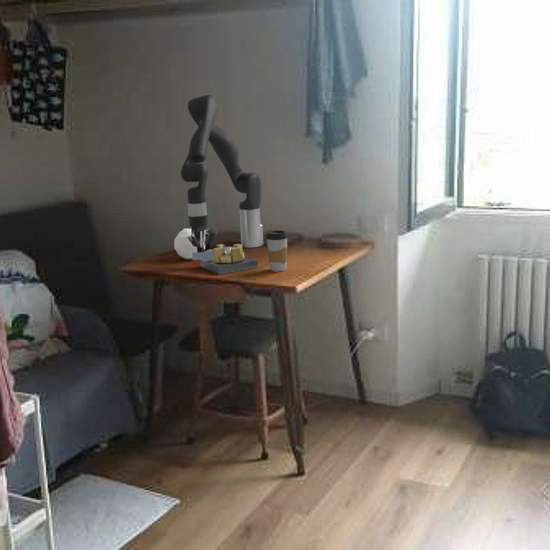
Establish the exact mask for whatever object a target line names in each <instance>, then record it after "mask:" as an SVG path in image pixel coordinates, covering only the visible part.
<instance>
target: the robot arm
mask: <svg viewBox="0 0 550 550" xmlns="http://www.w3.org/2000/svg"><path fill="white" fill-rule="evenodd" d="M218 107H219V106H218V102H217V100H216V98H215V97H214V96H213V95H212V94H206V95H200V96H198V97H194V98H191V99H190V100H189V101H188V102H187V110H188V113H189V114H190V116H191V117H190V118H192V120H193V121H194V122H195V124H196V125H197V126H198V127H197V129H196V131H195V132H194V133H193V134H192V137H191V139H190V143H189V149H188V154H187V156H186V158H185V160H184V162H183V165H182V166H181V169H180V176H181V179H182V180H183V181H184V182H186V183H197V182H198V184H197V186H194V187H190V188H188V189H187V191H186V193H187V195H186V196H187V204H188V205H187V215H188V225H189V227H190V228H191V229H192V230H191V233H192V234H191V236H188V239H189V241H190V242H191V244H192V245H193V246H194V247H197V252H205V249H204V246H205V247H206V245H207V244H208V242H209V239H210V235H211V230H208V229H207V228H208V227H207V226H209V225H208V224H209V220H208V207H207V201H206V187H207V181H208V177H209V170H208V167H207V165H206V164H205V163H203V162H205V161H206V157H207V153H208V151H207V150H208V144H210V146H211V147H212V149H213V151H214V152H215V154H216V155H217V157H218V158H219V160H220V161H221V163H222V165H223V167H224V169H225V171H226V172H227V174H228V176H229V178H230V181H231V182H232V185H233V187H234V189H235V190H236V191H237V192H238V193H241V194H246V195H245V199H244V200H243V201H241V202H239V204H238V207H239V226H240V227H239V228H240V244H242V248H258V247H261V246H263V245H264V232H263V231H264V230H263V229H264V228H263V224H262V223H261V210H260V209H261V208H260V206H261V200H262V182H261V178H260V176H259V175H258V174H257V173H255V172H244V170H243V169H242V167H241V166H240V164H239V150H238V147H237V145H236V142H235V141H234V139H233V137H232V136H231V135H230V134H229V133H228V132H227V131H225V130H224V129H222V128H220V127H218V126H216V125H215V121H216V118H217V113H218ZM262 244H263V245H262Z"/></svg>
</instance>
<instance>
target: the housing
mask: <svg viewBox="0 0 550 550" xmlns="http://www.w3.org/2000/svg"><path fill="white" fill-rule="evenodd" d="M231 248H233V246H225V247H223V248H222V251H223V256H229V255H231ZM199 261H200V268H202V269H205V270H208V271H210V272H212V273H215V274H217V275H219V274H220V275H224V274H230V272H231V273H237V272H240V271H242V270H243V271H247V270H252V269H258V267H259V266H258V265H259V264H258V260H257V259H254V258H251V257H249V256H246V255H244V260H242V261H238V262H231V263H221V262H220V263H218V262H214V261H212V260H199ZM236 271H237V272H236Z"/></svg>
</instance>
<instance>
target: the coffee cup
mask: <svg viewBox="0 0 550 550" xmlns="http://www.w3.org/2000/svg"><path fill="white" fill-rule="evenodd" d="M265 238H266V244H267V245H266V246H267V253H268V263H269V269H270V271H271V272H277V273H278V272H285V271H286V270H287V266H288V265H287V264H288V263H287V261H288V233H287V231H286V230H281V229H280V230H270V231H267V233H266V237H265Z"/></svg>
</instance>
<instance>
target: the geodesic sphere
mask: <svg viewBox="0 0 550 550" xmlns="http://www.w3.org/2000/svg"><path fill="white" fill-rule="evenodd" d="M191 230H192V227H190V228H185V227H183V228H182V230H181V231H179V232H178V234H177V235H176V237H175V238H174V247H173V248H174V250H175V251H176V252H177V254H178V256H180V257H181V258H183V259H184V260H193V258H192V253H193V252H197V247H194V246H193V245H192V244H191V242H190V241H189V239H188V236H191V234H192V233H191ZM205 249H206V245H205V246H204V250H205Z"/></svg>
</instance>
